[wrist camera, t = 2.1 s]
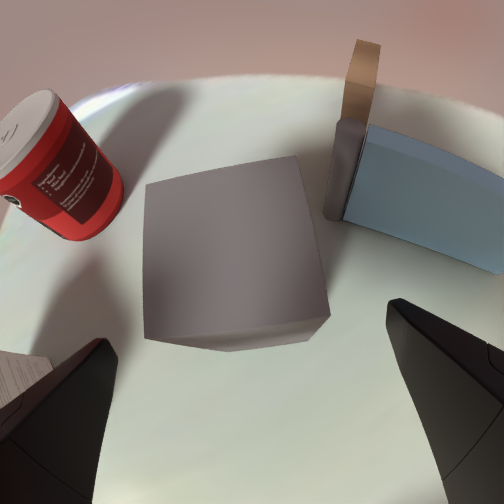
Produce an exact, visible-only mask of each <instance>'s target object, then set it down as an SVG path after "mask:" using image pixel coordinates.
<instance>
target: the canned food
mask: <svg viewBox="0 0 504 504" xmlns="http://www.w3.org/2000/svg"><path fill="white" fill-rule="evenodd" d="M0 195H1V196H2V197H4V198H5V199H6V200H8V201H9V202H10V203H12V204H13V205H15V206H16V207H17V208H19V209H20V210H22V211H23V212H24V213H26V214H27V215H29V216H30V217H32V218H33V219H34V220H36V221H37V222H39V223H40V224H42V225H43V226H45V227H46V228H48V229H49V230H51V231H52V232H54V233H55V234H57V235H59V236H60V237H62V238H63V239H67V240H72V241H83V240H87V239H90V238H92V237H94V236H96V235H97V234H98V233H100V232H101V231H102V230H103V229H104V228H106V227H107V226H108V225H109V223H110V222H111V221H112V220H113V218H114V217H115V215H116V213H117V212H118V210H119V207H120V205H121V202H122V198H123V184H122V180H121V177H120V175H119V172H118V171H117V170H116V169H115V167H114V166H113V165H112V164H111V162H110V161H109V160H108V159H107V157H106V156H105V155H104V154H103V153H102V151H101V150H100V149H99V148H98V146H97V145H96V144H95V142H94V141H93V140H92V139H91V137H90V136H89V135H88V134H87V132H86V131H85V130H84V128H83V127H82V126H81V125H80V123H79V122H78V121H77V119H76V118H75V117H74V115H73V114H72V113H71V112H70V110H69V109H68V108H67V106H66V105H65V104H64V103H63V102H62V100H61V99H60V98H59V96H58V95H57V94H56V93H54V91H53V90H52V89H44V90H40V91H38V92H36V93H34V94H32V95H30V96H29V97H27V98H26V99H24V100H23V101H22V102H20V103H19V104H18V105H17V106H16V107H14V108H13V109H12V110H11V111H10V112H9V113H8V114H7V115H6V116H5V118H4V119H3V120H2V121H1V122H0Z"/></svg>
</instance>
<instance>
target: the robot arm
mask: <svg viewBox="0 0 504 504" xmlns="http://www.w3.org/2000/svg"><path fill="white" fill-rule="evenodd" d="M386 329H387V332H388V335H389V338H390V341H391V344H392V347H393V350H394V353H395V357H396V360H397V363H398V366H399V369H400V372H401V374H402V376H403V379H404V381H405V383H406V386H407V388H408V390H409V393H410V395H411V398H412V400H413V402H414V405H415V407H416V410H417V412H418V415H419V417H420V420H421V423H422V425H423V428H424V430H425V433H426V436H427V438H428V441H429V444H430V447H431V449H432V452H433V455H434V458H435V461H436V464H437V467H438V470H439V473H440V476H441V479H442V481H443V482H442V483H443V486H444V489H445V493H446V496H447V499H448V503H449V504H504V351H502V350H500V349H498V348H496V347H495V346H493V345H491V344H489V343H488V344H487V343H486V342H485V341H483V340H481V339H479V338H478V337H476V336H474V335H472V334H470V333H468V332H466V331H464V330H462V329H461V328H459V327H457V326H455V325H453V324H451V323H449V322H447V321H445V320H443V319H441V318H439V317H438V316H436V315H434V314H432V313H430V312H428V311H426V310H424V309H422V308H420V307H418V306H416V305H414V304H412V303H410V302H408V301H406V300H404V299H402V298H398V299H393V300H390V301H389V302H388V305H387V315H386ZM117 365H118V357H117V355H116V353H115V351H114V349H113V347H112V346H111V344H110V342H109V340H108V339H107V338H95V339H94V340H92V341H91V342H90V343H88V344H87V345H86V346H84V347H83V348H82V349H80V350H79V351H77V352H76V353H75V354H73V355H72V356H71V357H69V358H68V359H67V360H65V361H64V362H63V363H61V364H60V365H59V366H57V367H56V368H55V369H53V370H52V371H50V372H49V373H48V374H46V375H45V376H44V377H42V378H41V379H40V380H38V381H37V382H36V383H34V384H33V385H32V386H31V387H29V388H28V389H27V390H26V391H24V392H23V393H21V394H20V395H19V396H17V397H16V398H15V399H13V400H12V401H11V402H9V403H8V404H6V405H5V406H3V407H2V408H0V504H92V499H93V492H94V486H95V479H96V473H97V468H98V462H99V457H100V452H101V447H102V442H103V437H104V432H105V428H106V423H107V419H108V415H109V411H110V406H111V402H112V397H113V391H114V384H115V377H116V371H117Z"/></svg>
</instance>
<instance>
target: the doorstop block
mask: <svg viewBox="0 0 504 504" xmlns="http://www.w3.org/2000/svg"><path fill="white" fill-rule="evenodd" d="M330 316H331V314H330V308H329V302H328V297H327V291H326V286H325V281H324V276H323V271H322V266H321V261H320V256H319V251H318V246H317V242H316V237H315V232H314V228H313V223H312V219H311V215H310V210H309V206H308V202H307V198H306V194H305V190H304V185H303V181H302V177H301V174H300V170H299V166H298V162H297V158H296V156H289V157H282V158H276V159H269V160H263V161H257V162H251V163H245V164H240V165H234V166H229V167H224V168H218V169H213V170H208V171H204V172H199V173H194V174H190V175H185V176H181V177H176V178H172V179H168V180H163V181H159V182H155V183H151V184H147V185H146V192H145V208H144V228H143V317H144V338H145V339H150V340H155V341H160V342H166V343H171V344H177V345H183V346H189V347H196V348H202V349H209V350H216V351H224V352H231V351H240V350H249V349H257V348H264V347H272V346H279V345H286V344H292V343H299V342H305V341H308V340H309V339H310V338H311V337H312V336H313V335H314V334H315V332H316V331H317V330H318V329H319V328H320V327H321V326H322V325H323V324H324V323H325V321H326V320H327V319H328V318H329V317H330Z"/></svg>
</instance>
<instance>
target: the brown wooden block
mask: <svg viewBox="0 0 504 504" xmlns="http://www.w3.org/2000/svg"><path fill="white" fill-rule="evenodd" d="M380 47H381V45H378V44H374V43H371V42H367V41H363V40H358V39H357V41H356V45H355V48H354V52H353V56H352V59H351V63H350V66H349V69H348V73H347V76H346V80H345V87H344V95H343V103H342V111H341V118H340V119H342V118H354V119H357V120H359V121H360V122H362V123H363V125H364V126H365V128H366V125H367V121H368V116H369V112H370V108H371V103H372V99H373V94H374V89H375V83H376V76H377V69H378V62H379V54H380Z"/></svg>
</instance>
